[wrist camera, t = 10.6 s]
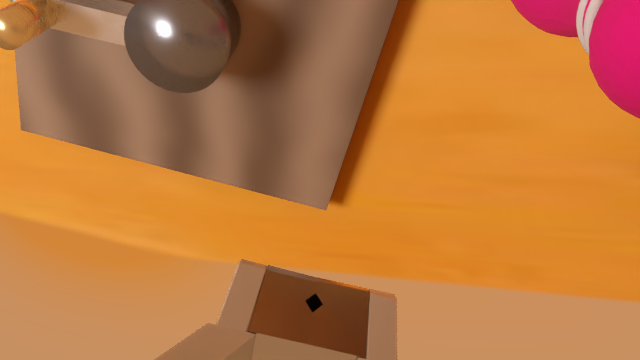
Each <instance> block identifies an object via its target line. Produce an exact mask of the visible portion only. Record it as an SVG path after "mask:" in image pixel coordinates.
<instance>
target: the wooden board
mask: <svg viewBox="0 0 640 360" xmlns="http://www.w3.org/2000/svg"><path fill="white" fill-rule="evenodd" d="M10 1H11V3H12V2H13V0H10ZM119 1H124V2H128V3H132V4H136V3H137V2H138V1H139V0H119ZM232 1H233V3H234V5H235V7H236V9H237V11H238V14H239V18H240V23H241V35H240V40H239V43H238V46H237V48H236V50H235V51H234V53H233V55H232V56H231V58H230V59H229V61H228V63H227V64H226V66H225V68H224V69H223V71H222V72H221V74H220V75H219V77H218V78H217V79H216V80H215V81H214V82H213V83H212V84H211V85H210V86H208V87H207V88H205V89H203V90H200V91H197V92H192V93H177V92H172V91H168V90H165V89H163V88H161V87H159V86H157V85H155V84H153V83H152V82H150V81H149V80H148V79H147V78H145V77H144V76H143V75H142V74H141V73H140V72H139V71H138V69H137V68H136V67H135V65H134V64H133V62H132V61H131V59H130V57H129V55H128V52H127V49H126V46H123V45H119V44H115V43H111V42H106V41H102V40H98V39H94V38H89V37H85V36H81V35H77V34H73V33H68V32H64V31H60V30H56V29H51V28H49V29H47V30H46V31H44V32H42V33H41V34H39V35H38V36H36V37H34V38H33V39H31V40H30V41H28V42H26V43H25V44H23V45H22V46H20V47H18V48H17V49H15V58H16V71H17V83H18V96H19V108H20V121H21V130H23V131H27V132H31V133H35V134H38V135H42V136H46V137H50V138H54V139H57V140H61V141H65V142H69V143H72V144H76V145H80V146H84V147H88V148H91V149H95V150H99V151H103V152H107V153H110V154H114V155H118V156H122V157H126V158H129V159H133V160H137V161H141V162H145V163H148V164H152V165H156V166H160V167H164V168H167V169H171V170H175V171H179V172H183V173H186V174H190V175H194V176H198V177H202V178H205V179H209V180H213V181H217V182H221V183H224V184H228V185H232V186H236V187H239V188H243V189H247V190H251V191H255V192H258V193H262V194H266V195H270V196H274V197H277V198H281V199H285V200H289V201H293V202H296V203H300V204H304V205H308V206H312V207H315V208H319V209H323V210H326V209H327V207H328V204H329V201H330V198H331V195H332V192H333V189H334V186H335V183H336V180H337V178H338V175H339V172H340V169H341V166H342V163H343V160H344V157H345V154H346V151H347V148H348V146H349V143H350V140H351V137H352V134H353V131H354V128H355V125H356V122H357V119H358V117H359V114H360V111H361V108H362V105H363V102H364V99H365V96H366V93H367V90H368V87H369V85H370V82H371V79H372V76H373V73H374V70H375V67H376V64H377V61H378V58H379V56H380V53H381V50H382V47H383V44H384V41H385V38H386V35H387V32H388V29H389V27H390V24H391V21H392V18H393V15H394V12H395V9H396V6H397V3H398V0H232Z"/></svg>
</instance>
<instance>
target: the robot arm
mask: <svg viewBox="0 0 640 360" xmlns="http://www.w3.org/2000/svg"><path fill="white" fill-rule="evenodd" d="M154 360H397V299H396V297H395V295H394V294H391V293H386V292H381V291H376V290H372V289H369V290H368V289H366V288H362V287H358V286H353V285H348V284H344V283H340V282H335V281H330V280H326V279H321V278H316V277H312V276H308V275H304V274H300V273H296V272H292V271H289V270H285V269H281V268H277V267H273V266H269V265H268V266H266V265H263V264H259V263H255V262H251V261H247V260H244V259H241V261H240V262H239V264H238V266H237V268H236V271H235V274H234V277H233V279H232V282H231V285H230V287H229V290H228V293H227V296H226V298H225V301H224V304H223V306H222V309H221V312H220V314H219V317H218V320H217V323H216V325H215V324H210V323H208V324H206V325H205V326H203V327H201V328H200V329H198V330H197V331H195V332H194V333H193V334H191V335H190V336H188V337H187V338H185V339H184V340H182V341H181V342H180V343H178V344H177V345H175V346H174V347H172V348H171V349H169V350H168V351H166V352H165V353H163V354H162V355H160V356H159V357H157V358H156V359H154Z"/></svg>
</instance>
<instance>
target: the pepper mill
mask: <svg viewBox="0 0 640 360" xmlns="http://www.w3.org/2000/svg"><path fill="white" fill-rule="evenodd" d="M511 1H512V2H513V4H514V5H515V7H516V9H517V10H518V12H519V13H520V14H521V15H522V16H523V17H524V18H525V19H527V20H528V21H529V22H530V23H532V24H533V25H534V26H536V27H537V28H539V29H541V30H543V31H545V32H548V33H551V34H555V35H560V36H566V37H579V40H580V42H581V44H582V46H583V48H584V50H585V51H586V52H587V53H588V54H589V59H590V68H591V70H592V72H593V74H594V77H595V79H596V81H597V83H598V85H599V87H600V88H601V89H602V91H603V92H604V93H605V94H606V95H607V97H608V98H609V99H610V100H611V101H612V102H613V103H615V104H616V105H617V106H619V107H620V108H621V109H622V110H624V111H626V112H628V113H630V114H632V115H634V116H636V117H637V118H640V0H511Z"/></svg>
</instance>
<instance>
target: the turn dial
mask: <svg viewBox="0 0 640 360" xmlns="http://www.w3.org/2000/svg"><path fill="white" fill-rule="evenodd" d="M49 28H51V29H56V30H60V31H64V32H68V33H73V34H77V35H81V36H85V37H89V38H94V39H98V40H102V41H106V42H111V43H115V44H119V45H123V46H126V49H127V52H128V55H129V57H130V59H131V61H132V62H133V64H134V65H135V67H136V68H137V69H138V71H139V72H140V73H141V74H142V75H143V76H144V77H145V78H147V79H148V80H149V81H150V82H152V83H153V84H155V85H157V86H159V87H161V88H163V89H165V90H168V91H172V92H177V93H192V92H197V91H200V90H203V89H205V88H207V87H208V86H210V85H211V84H212V83H213V82H214V81H215V80H216V79H217V78H218V77H219V75H220V74H221V72H222V71H223V69H224V68H225V66H226V64H227V63H228V61H229V59H230V58H231V56H232V55H233V53H234V51H235V50H236V48H237V46H238V43H239V40H240V35H241V23H240V18H239V14H238V11H237V9H236V7H235V5H234V3H233V1H232V0H139V1H138V2H137V3H136V4H132V3H128V2H124V1H119V0H13V2H12V3H10V4H8V5H6V6H4V7H2V8H0V47H1V48H3V49H6V50H14V49H17V48H18V47H20V46H22V45H23V44H25V43H26V42H28V41H30V40H31V39H33V38H34V37H36V36H38V35H39V34H41V33H42V32H44V31H46V30H47V29H49Z"/></svg>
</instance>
